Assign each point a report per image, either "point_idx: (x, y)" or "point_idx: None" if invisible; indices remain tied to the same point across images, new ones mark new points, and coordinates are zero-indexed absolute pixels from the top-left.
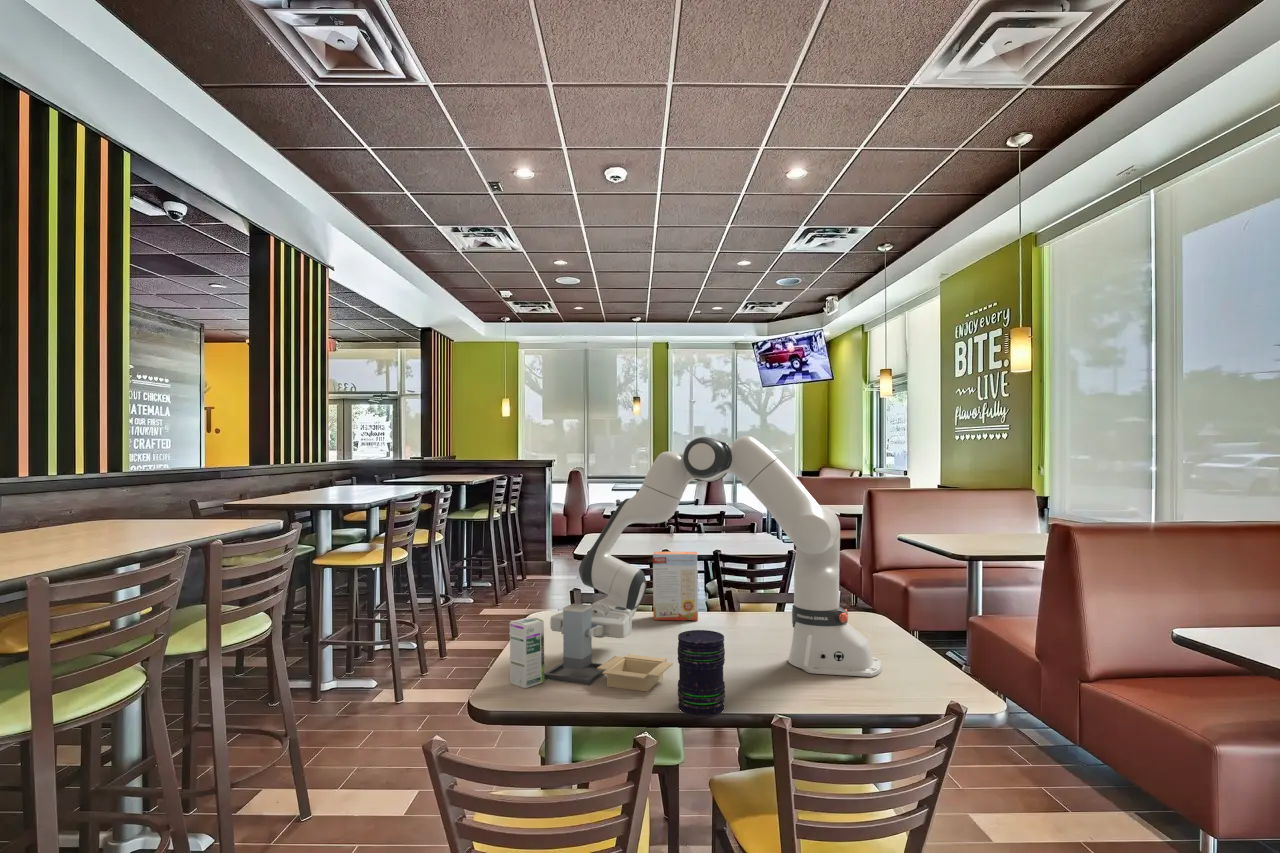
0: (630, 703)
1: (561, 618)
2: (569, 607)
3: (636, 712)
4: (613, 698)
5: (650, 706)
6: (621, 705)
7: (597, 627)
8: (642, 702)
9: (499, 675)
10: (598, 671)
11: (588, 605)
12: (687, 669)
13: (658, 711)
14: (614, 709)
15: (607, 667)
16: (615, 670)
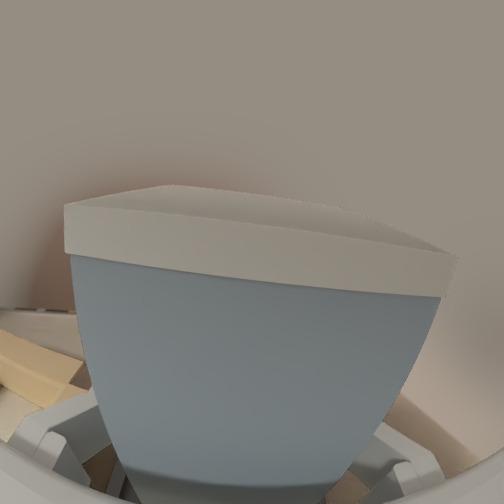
0: (43, 335)
1: (497, 454)
2: (311, 204)
3: (44, 311)
4: (70, 355)
5: (16, 324)
6: (60, 330)
7: (57, 403)
8: (22, 337)
9: (417, 414)
10: (117, 491)
11: (123, 200)
12: None
13: (13, 311)
14: (75, 320)
15: (65, 396)
16: (44, 371)
